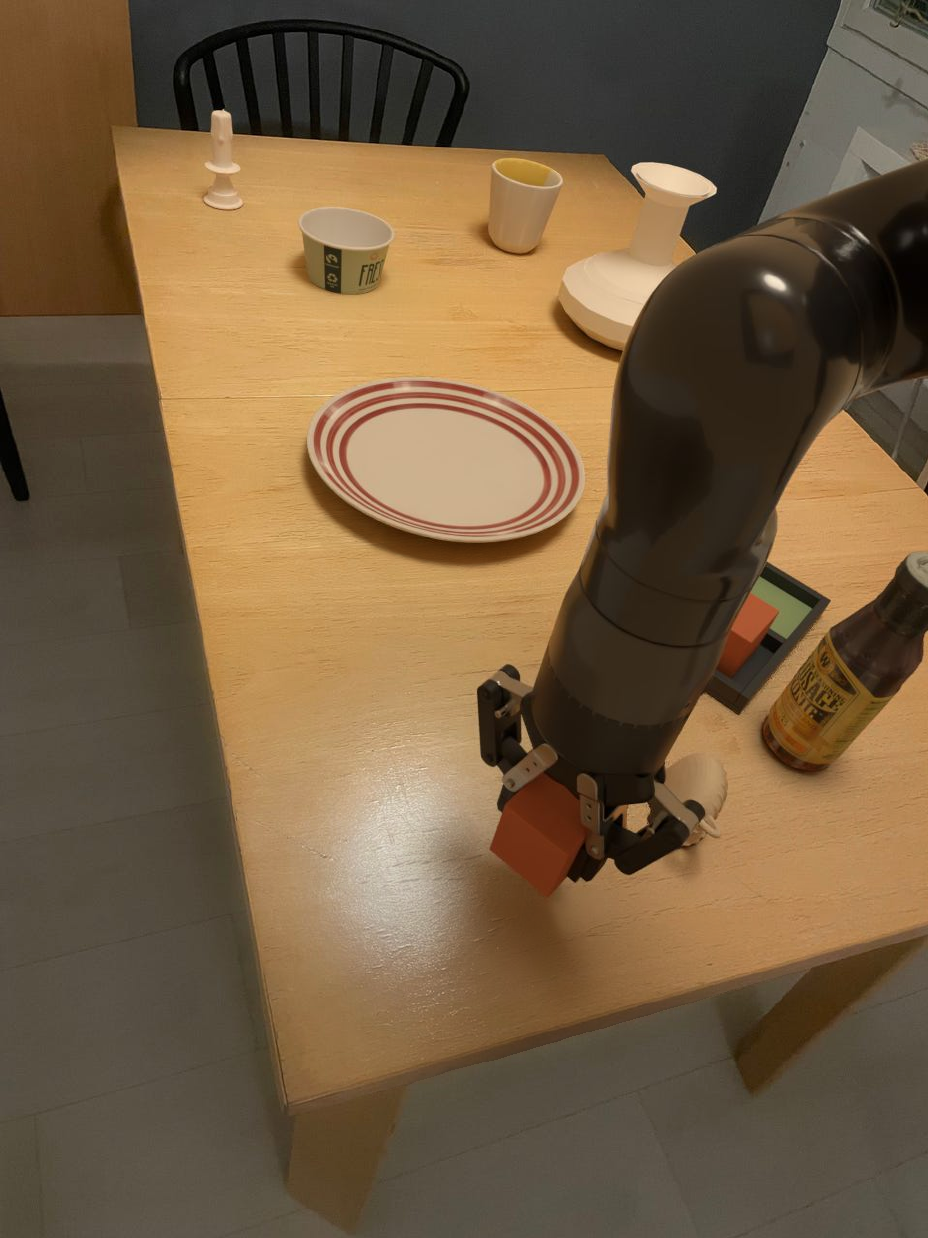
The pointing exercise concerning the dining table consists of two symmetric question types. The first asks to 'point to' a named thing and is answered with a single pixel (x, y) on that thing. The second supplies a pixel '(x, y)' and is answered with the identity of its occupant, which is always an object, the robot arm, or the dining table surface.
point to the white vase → (633, 257)
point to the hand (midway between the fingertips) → (546, 842)
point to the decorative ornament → (699, 789)
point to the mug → (521, 203)
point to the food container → (344, 248)
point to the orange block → (540, 833)
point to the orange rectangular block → (746, 634)
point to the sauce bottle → (852, 672)
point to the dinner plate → (445, 459)
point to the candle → (222, 164)
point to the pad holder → (771, 636)
